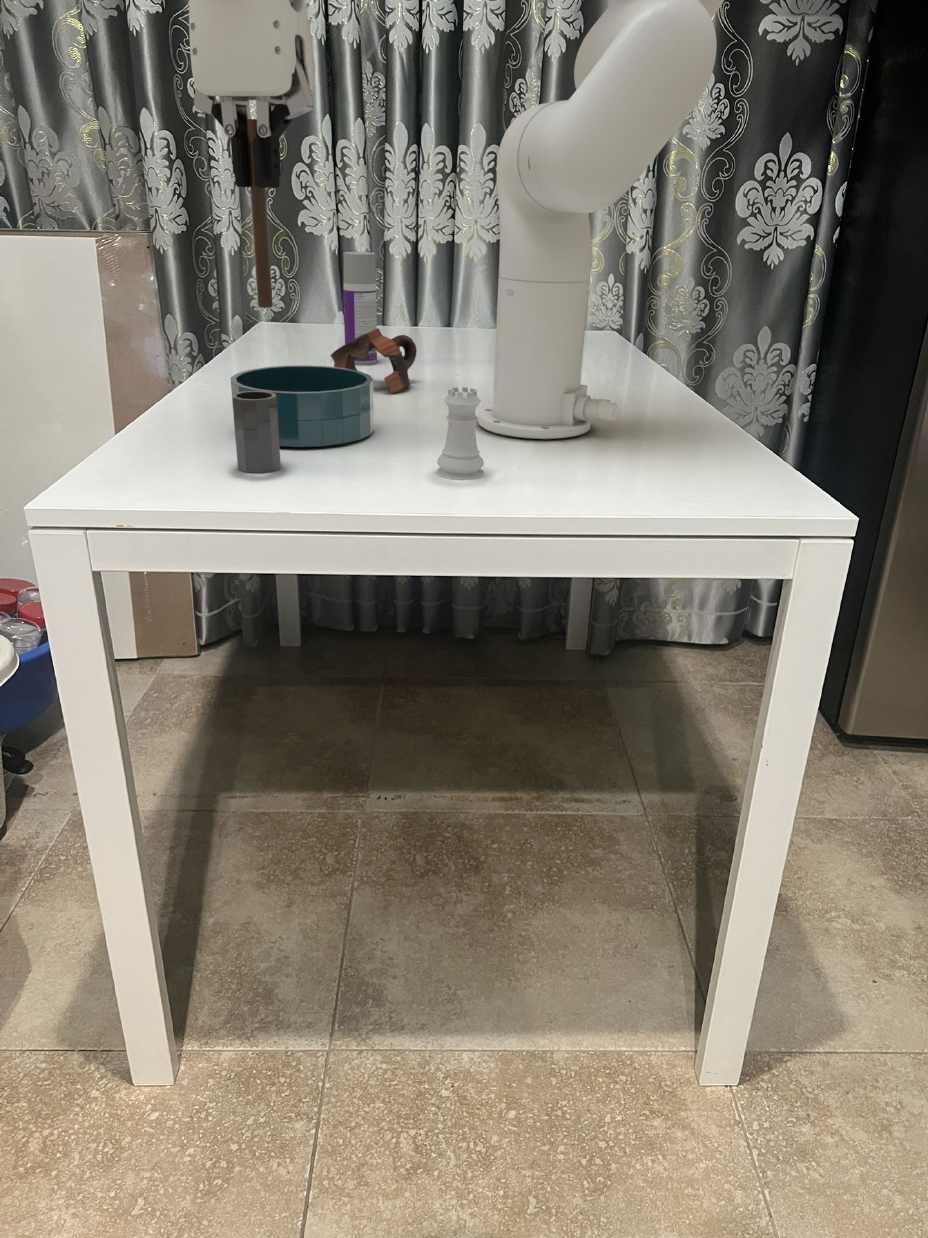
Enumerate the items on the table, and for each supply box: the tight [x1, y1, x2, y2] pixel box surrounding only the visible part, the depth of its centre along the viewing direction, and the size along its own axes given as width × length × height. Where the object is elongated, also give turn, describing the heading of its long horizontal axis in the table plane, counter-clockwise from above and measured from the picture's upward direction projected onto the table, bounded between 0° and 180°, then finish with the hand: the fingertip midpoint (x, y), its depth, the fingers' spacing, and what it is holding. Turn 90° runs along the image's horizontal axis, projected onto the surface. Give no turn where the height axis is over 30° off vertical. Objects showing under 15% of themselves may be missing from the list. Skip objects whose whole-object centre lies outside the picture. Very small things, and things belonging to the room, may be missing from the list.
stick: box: [246, 118, 274, 309], centre depth 85 cm, size 1×1×16 cm
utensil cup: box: [231, 391, 282, 475], centre depth 81 cm, size 4×4×7 cm
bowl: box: [230, 364, 375, 448], centre depth 93 cm, size 14×14×6 cm
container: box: [343, 251, 378, 366], centre depth 131 cm, size 5×5×15 cm
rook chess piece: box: [435, 386, 485, 481], centre depth 82 cm, size 4×4×8 cm
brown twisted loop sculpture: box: [330, 327, 418, 395], centre depth 118 cm, size 12×10×8 cm
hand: (257, 185), depth 83 cm, fingers closed on stick, 1 cm apart
